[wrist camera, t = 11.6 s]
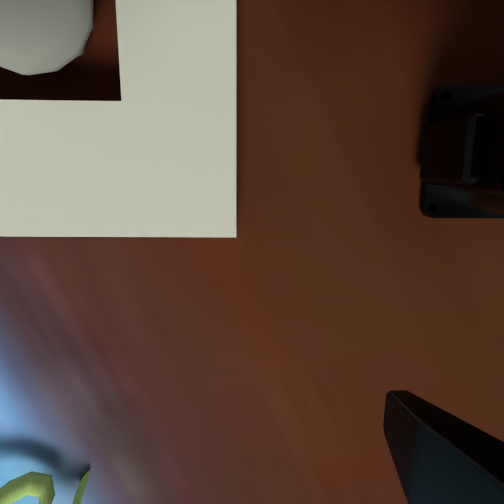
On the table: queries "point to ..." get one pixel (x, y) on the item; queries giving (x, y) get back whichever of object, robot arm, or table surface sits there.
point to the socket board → (134, 136)
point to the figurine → (36, 488)
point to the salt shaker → (43, 33)
